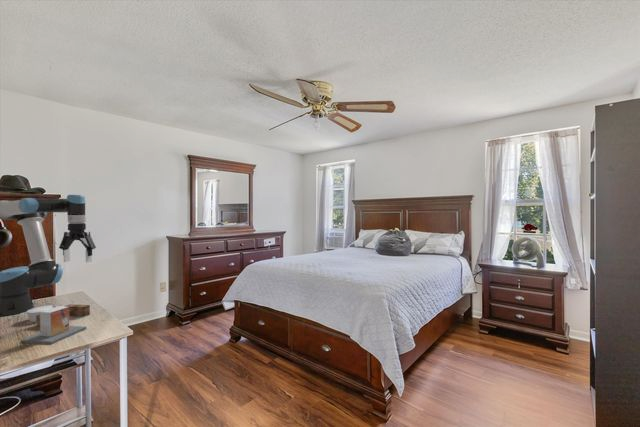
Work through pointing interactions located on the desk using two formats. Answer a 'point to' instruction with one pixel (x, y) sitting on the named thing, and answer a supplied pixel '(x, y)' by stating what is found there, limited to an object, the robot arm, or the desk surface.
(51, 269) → the robot arm
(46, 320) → the small box
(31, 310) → the ramekin
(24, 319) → the desk surface
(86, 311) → the walnut crossbar stand
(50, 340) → the slate grey mat
